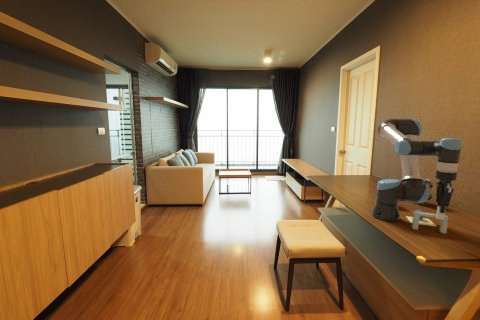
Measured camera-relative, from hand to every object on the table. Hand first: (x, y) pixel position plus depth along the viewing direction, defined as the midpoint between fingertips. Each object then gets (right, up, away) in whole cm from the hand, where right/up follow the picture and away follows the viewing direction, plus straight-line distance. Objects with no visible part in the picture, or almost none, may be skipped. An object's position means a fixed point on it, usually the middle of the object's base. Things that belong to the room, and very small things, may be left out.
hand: (440, 218), depth 118 cm
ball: (+11, -5, +29) cm, 31 cm away
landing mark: (+10, -8, +26) cm, 29 cm away
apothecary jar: (+36, -4, +61) cm, 71 cm away
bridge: (+5, -9, +13) cm, 17 cm away
